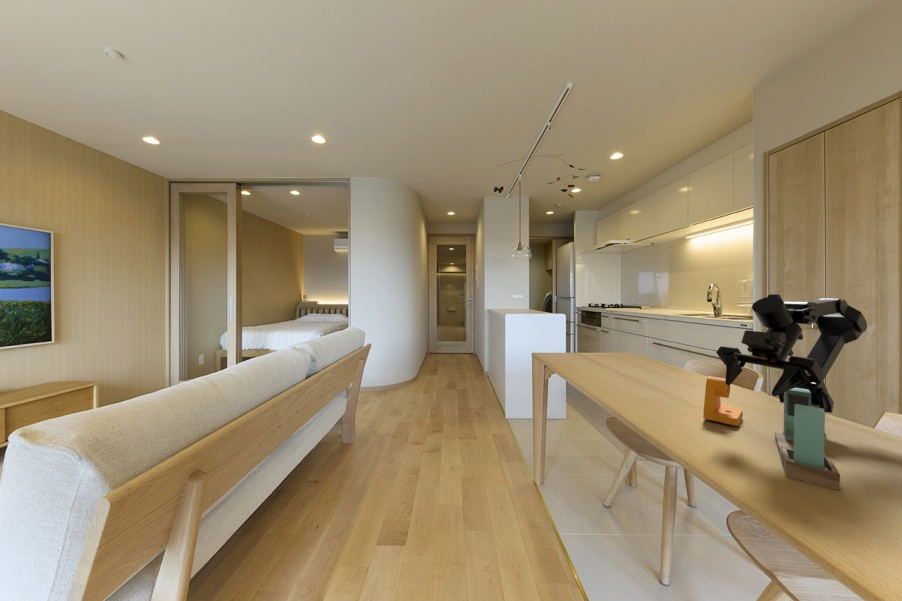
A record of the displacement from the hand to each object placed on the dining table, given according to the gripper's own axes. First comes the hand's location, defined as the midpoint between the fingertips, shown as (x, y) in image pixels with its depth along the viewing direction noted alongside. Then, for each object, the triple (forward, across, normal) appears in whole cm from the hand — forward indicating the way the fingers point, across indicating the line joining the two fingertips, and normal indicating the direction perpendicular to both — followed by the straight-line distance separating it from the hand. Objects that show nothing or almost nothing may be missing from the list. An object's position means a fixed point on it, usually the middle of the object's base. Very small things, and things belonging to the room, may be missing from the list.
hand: (748, 389), depth 77 cm
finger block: (+11, +12, +6) cm, 17 cm away
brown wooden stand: (+8, +8, +12) cm, 16 cm away
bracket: (+2, -12, +18) cm, 22 cm away
